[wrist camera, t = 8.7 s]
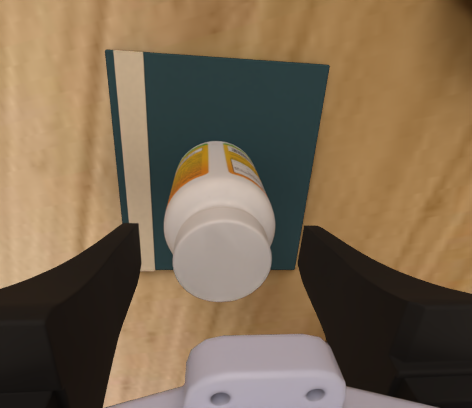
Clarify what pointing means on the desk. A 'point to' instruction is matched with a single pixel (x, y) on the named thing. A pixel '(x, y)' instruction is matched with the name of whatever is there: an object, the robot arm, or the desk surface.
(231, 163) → the supplement bottle
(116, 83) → the teal notebook
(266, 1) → the desk surface
